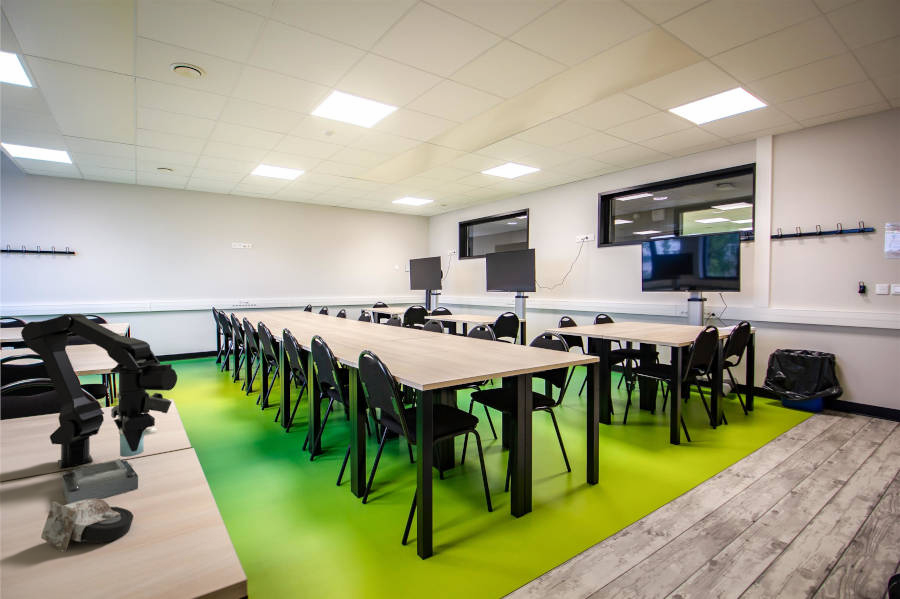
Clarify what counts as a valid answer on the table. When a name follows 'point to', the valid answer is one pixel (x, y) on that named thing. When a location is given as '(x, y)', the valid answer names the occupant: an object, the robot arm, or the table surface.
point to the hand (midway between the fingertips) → (132, 448)
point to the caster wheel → (85, 522)
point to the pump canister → (127, 452)
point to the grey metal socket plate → (99, 481)
